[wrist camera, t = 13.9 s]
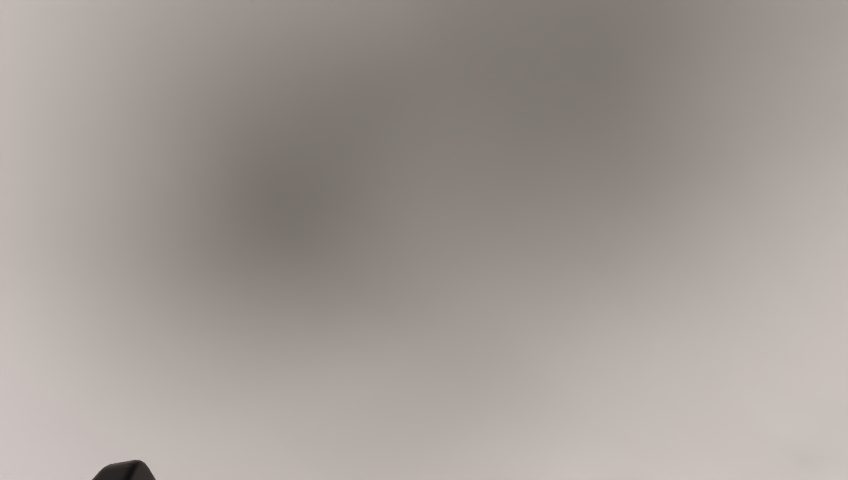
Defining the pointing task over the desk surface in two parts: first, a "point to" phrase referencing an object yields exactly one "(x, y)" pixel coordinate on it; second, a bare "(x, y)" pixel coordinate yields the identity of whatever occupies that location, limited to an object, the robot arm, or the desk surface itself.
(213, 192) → the desk surface
